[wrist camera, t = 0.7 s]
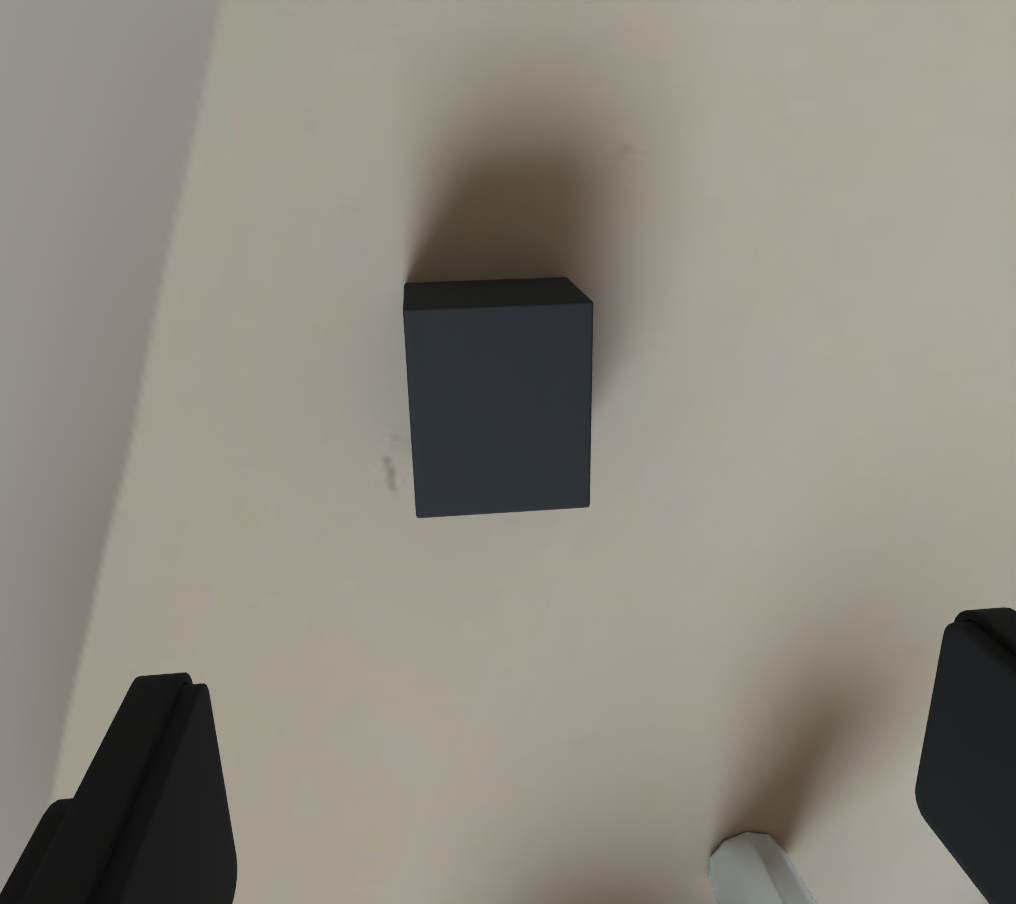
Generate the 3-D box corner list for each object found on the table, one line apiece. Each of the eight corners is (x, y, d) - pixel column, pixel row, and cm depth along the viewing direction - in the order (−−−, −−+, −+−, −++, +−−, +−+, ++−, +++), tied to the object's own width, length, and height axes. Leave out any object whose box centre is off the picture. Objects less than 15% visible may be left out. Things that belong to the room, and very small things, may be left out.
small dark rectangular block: (403, 282, 25) (403, 308, 22) (567, 276, 26) (593, 301, 22) (415, 466, 28) (416, 519, 24) (566, 458, 28) (590, 508, 24)
